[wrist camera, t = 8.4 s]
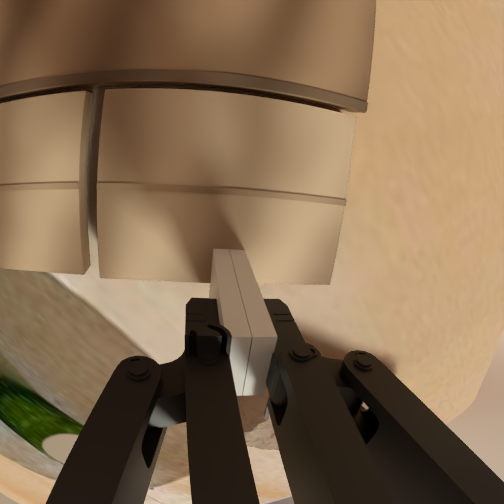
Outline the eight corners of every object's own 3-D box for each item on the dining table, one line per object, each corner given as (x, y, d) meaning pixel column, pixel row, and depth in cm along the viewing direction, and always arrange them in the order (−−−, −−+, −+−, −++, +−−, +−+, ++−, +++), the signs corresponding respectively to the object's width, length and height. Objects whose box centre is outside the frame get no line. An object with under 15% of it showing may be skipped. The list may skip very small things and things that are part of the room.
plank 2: (106, 268, 15) (99, 278, 13) (111, 93, 12) (104, 89, 11) (321, 275, 17) (330, 285, 16) (345, 118, 14) (357, 116, 13)
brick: (217, 405, 23) (225, 451, 19) (275, 341, 21) (293, 390, 16) (345, 426, 29) (360, 457, 25) (396, 379, 27) (418, 410, 23)
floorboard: (-58, 116, 9) (-71, 119, 8) (-41, 20, 6) (-53, 18, 5) (352, 112, 14) (366, 112, 13) (363, 6, 12) (377, -1, 10)
